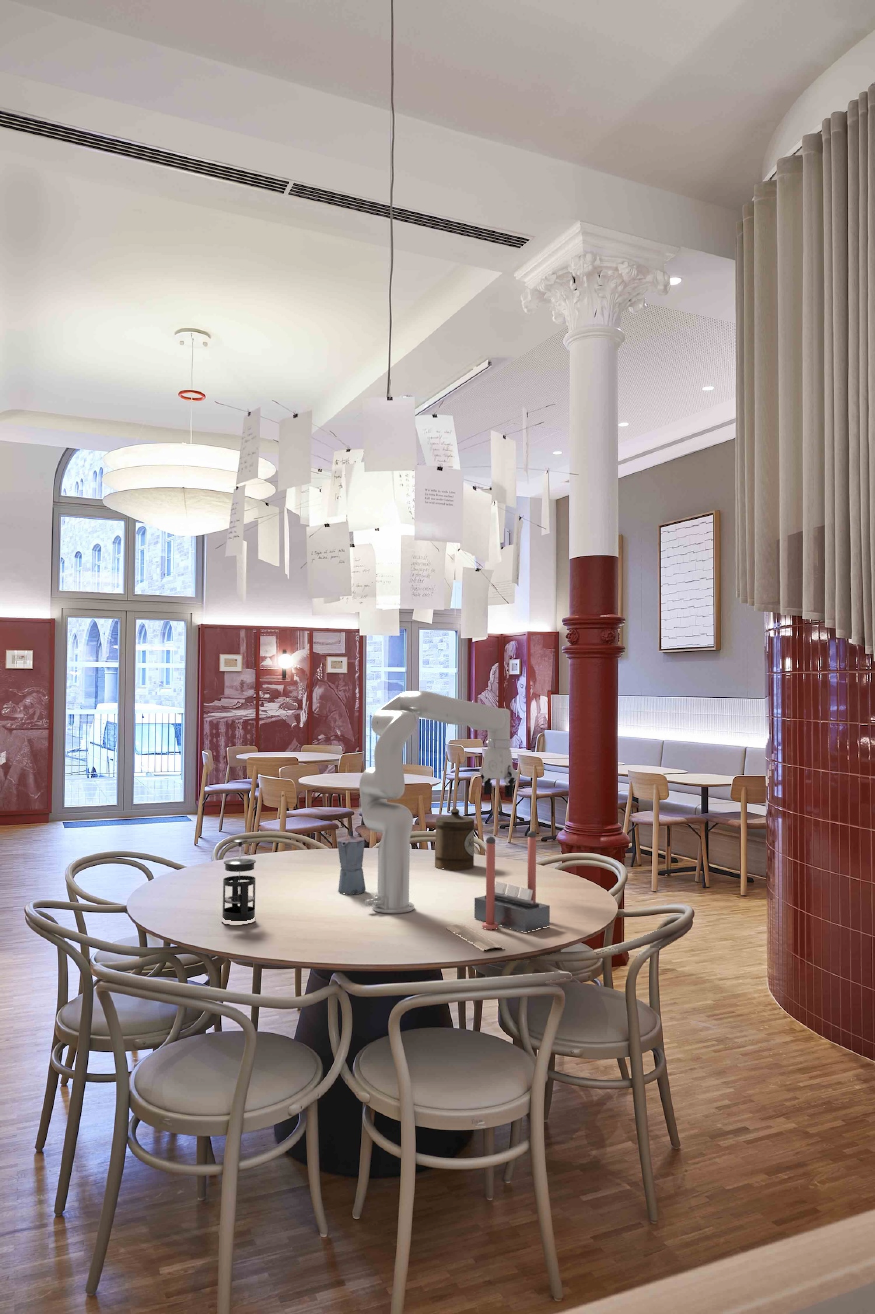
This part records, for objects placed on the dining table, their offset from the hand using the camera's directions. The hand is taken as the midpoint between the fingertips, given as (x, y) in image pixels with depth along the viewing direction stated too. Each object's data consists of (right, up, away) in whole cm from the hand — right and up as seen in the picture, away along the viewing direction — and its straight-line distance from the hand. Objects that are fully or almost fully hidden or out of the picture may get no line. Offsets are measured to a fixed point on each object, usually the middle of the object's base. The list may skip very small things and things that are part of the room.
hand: (498, 795), depth 288 cm
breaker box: (+1, -29, -45) cm, 53 cm away
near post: (-6, -29, -50) cm, 58 cm away
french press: (-77, -28, -46) cm, 94 cm away
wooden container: (-14, -33, +37) cm, 52 cm away
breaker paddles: (+1, -22, -44) cm, 49 cm away
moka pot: (-49, -31, -7) cm, 58 cm away
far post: (+7, -29, -39) cm, 49 cm away
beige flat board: (-11, -29, -62) cm, 69 cm away
